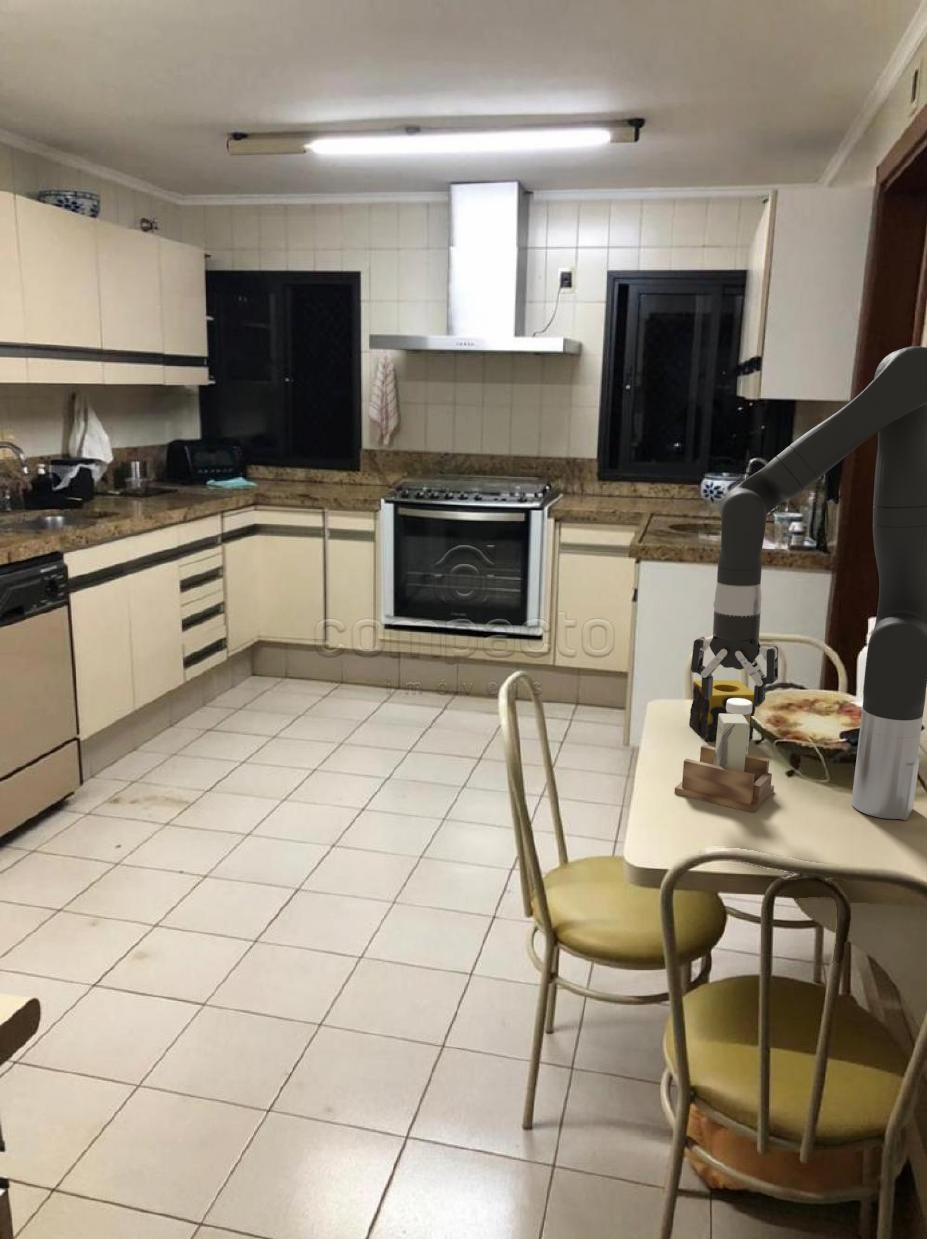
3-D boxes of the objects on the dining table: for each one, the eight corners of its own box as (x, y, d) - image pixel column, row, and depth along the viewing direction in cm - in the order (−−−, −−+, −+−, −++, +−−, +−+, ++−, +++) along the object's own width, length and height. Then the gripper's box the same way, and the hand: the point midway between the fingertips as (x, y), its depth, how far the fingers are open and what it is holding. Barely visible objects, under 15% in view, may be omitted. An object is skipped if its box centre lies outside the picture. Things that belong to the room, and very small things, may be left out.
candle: (688, 725, 202) (691, 680, 200) (734, 724, 203) (738, 679, 201) (705, 742, 192) (708, 695, 190) (753, 741, 193) (757, 694, 191)
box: (711, 781, 171) (717, 712, 168) (736, 782, 170) (742, 713, 167) (717, 793, 165) (723, 722, 162) (743, 794, 165) (749, 723, 162)
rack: (773, 791, 169) (776, 759, 168) (753, 813, 160) (756, 779, 159) (697, 773, 177) (699, 742, 175) (674, 793, 168) (676, 760, 166)
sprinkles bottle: (731, 763, 181) (736, 695, 178) (751, 770, 178) (757, 701, 175) (716, 769, 179) (721, 700, 175) (737, 776, 175) (742, 706, 172)
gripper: (786, 609, 160) (780, 702, 163) (704, 600, 168) (699, 689, 171) (773, 618, 154) (767, 714, 157) (688, 608, 161) (684, 700, 165)
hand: (732, 701), depth 164 cm, fingers open, 8 cm apart
